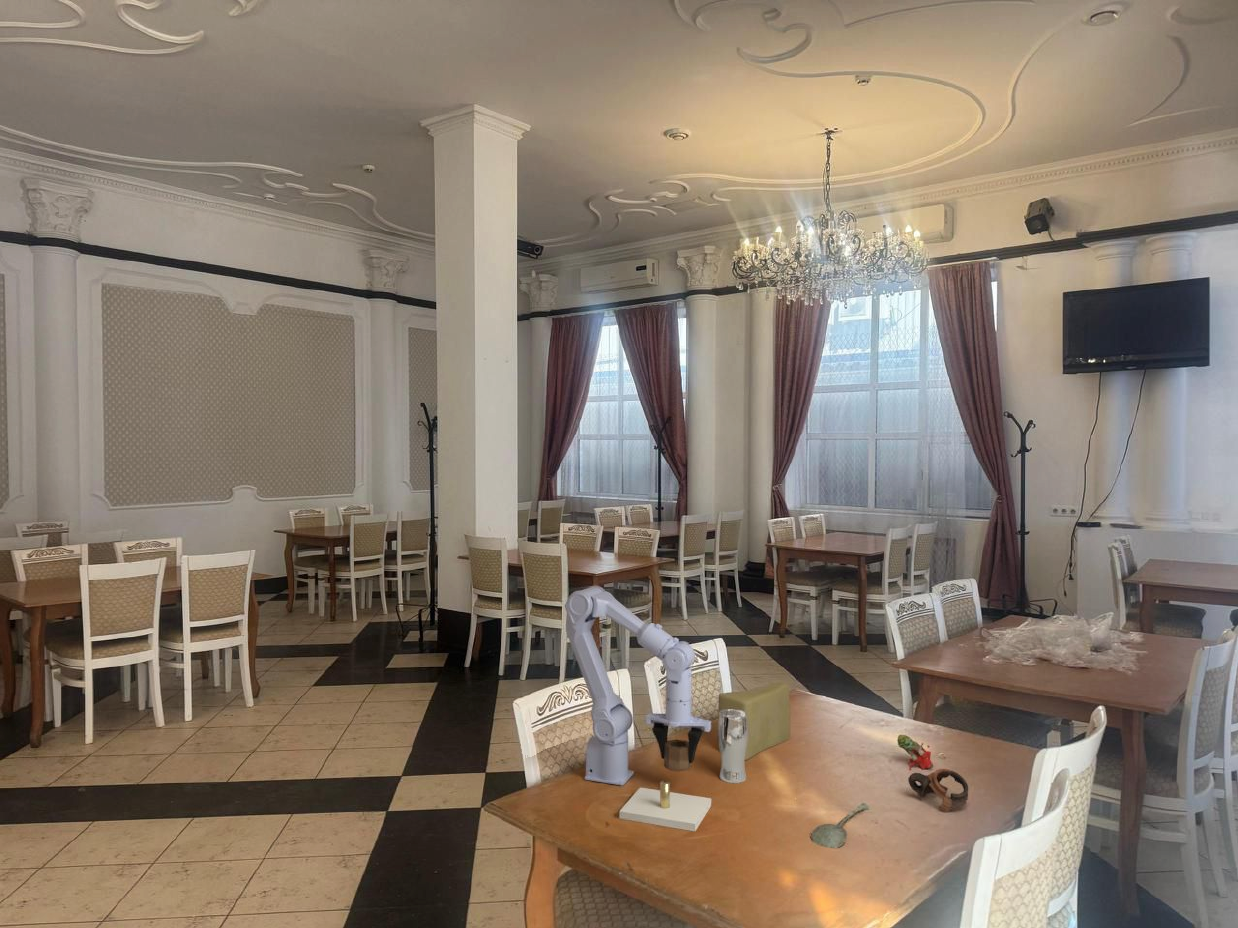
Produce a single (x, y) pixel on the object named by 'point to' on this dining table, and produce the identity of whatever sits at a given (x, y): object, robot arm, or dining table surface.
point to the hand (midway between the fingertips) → (677, 759)
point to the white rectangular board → (679, 815)
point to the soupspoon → (833, 831)
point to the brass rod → (664, 794)
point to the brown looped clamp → (939, 787)
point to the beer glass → (733, 744)
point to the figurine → (915, 752)
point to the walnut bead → (676, 755)
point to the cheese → (762, 715)
